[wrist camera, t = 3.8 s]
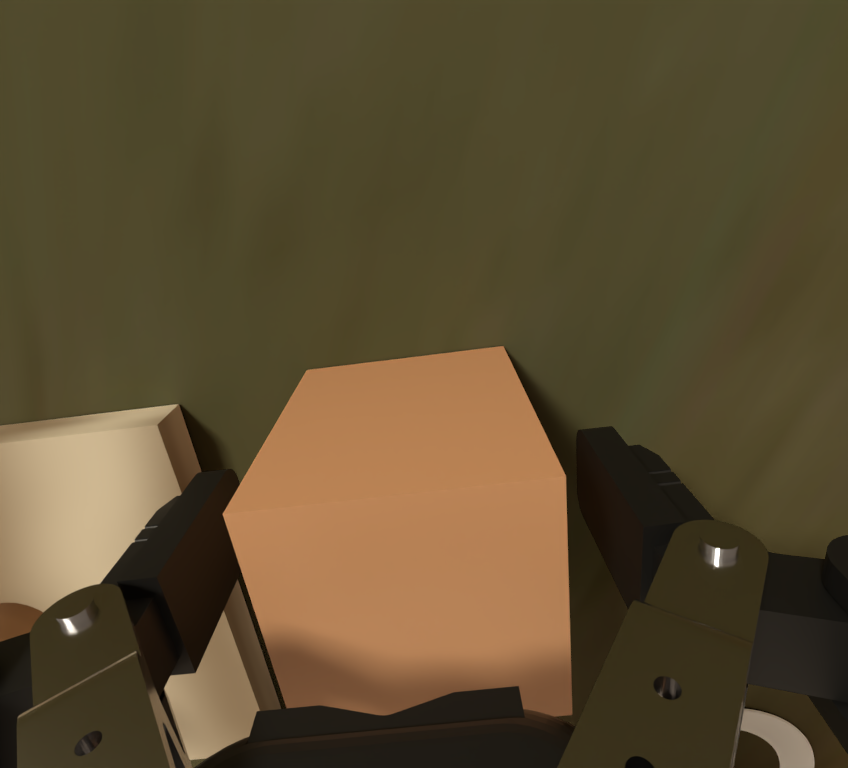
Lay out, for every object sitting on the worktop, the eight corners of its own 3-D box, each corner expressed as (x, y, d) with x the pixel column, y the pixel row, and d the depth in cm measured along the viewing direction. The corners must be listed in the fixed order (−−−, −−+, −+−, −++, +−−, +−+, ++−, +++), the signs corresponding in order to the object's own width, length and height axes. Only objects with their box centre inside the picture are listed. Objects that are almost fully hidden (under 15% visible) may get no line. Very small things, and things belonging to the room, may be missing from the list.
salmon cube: (503, 345, 13) (565, 476, 7) (515, 511, 15) (572, 714, 9) (306, 370, 13) (222, 514, 8) (343, 529, 15) (297, 740, 9)
